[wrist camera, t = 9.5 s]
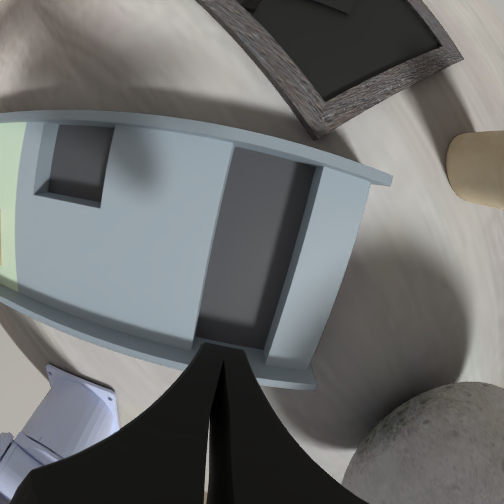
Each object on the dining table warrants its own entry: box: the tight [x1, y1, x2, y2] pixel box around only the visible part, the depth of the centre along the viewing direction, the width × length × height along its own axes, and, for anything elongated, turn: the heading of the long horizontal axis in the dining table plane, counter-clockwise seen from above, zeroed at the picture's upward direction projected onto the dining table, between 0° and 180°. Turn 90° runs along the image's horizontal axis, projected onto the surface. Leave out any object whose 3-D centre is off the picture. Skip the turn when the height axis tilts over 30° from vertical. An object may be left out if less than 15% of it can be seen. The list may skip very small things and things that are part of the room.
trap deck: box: [0, 110, 393, 391], centre depth 15 cm, size 14×31×4 cm, turn 77°
